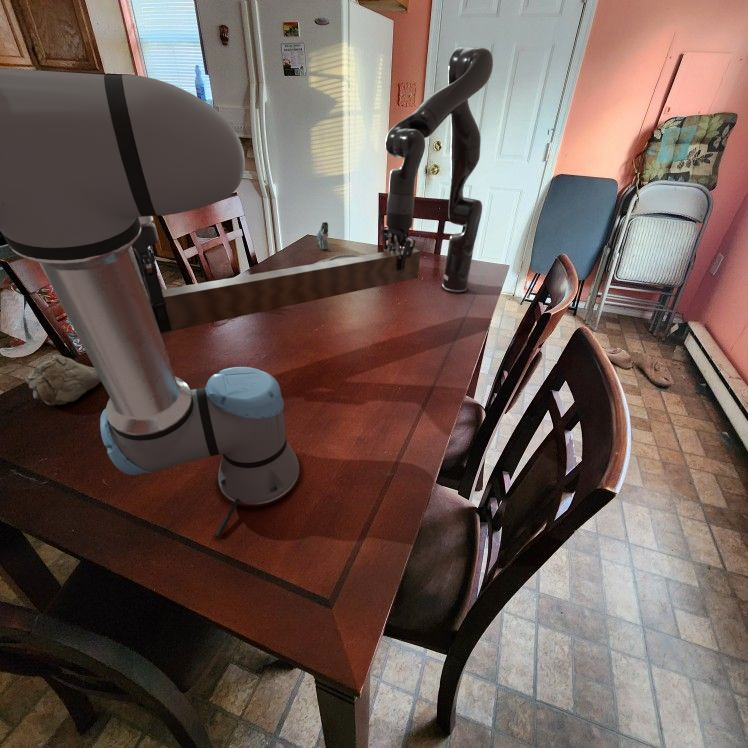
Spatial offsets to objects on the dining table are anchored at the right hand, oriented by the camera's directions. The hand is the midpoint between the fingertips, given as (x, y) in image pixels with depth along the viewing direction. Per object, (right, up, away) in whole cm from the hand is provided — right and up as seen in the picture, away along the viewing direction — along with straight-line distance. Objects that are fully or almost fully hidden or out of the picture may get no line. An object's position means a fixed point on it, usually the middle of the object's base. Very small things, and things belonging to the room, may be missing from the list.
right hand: (395, 267), depth 127 cm
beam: (-28, -13, -14) cm, 34 cm away
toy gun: (-31, +27, +68) cm, 80 cm away
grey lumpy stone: (-80, -37, -27) cm, 92 cm away
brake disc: (-17, +10, +45) cm, 49 cm away
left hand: (-56, -21, -30) cm, 67 cm away
